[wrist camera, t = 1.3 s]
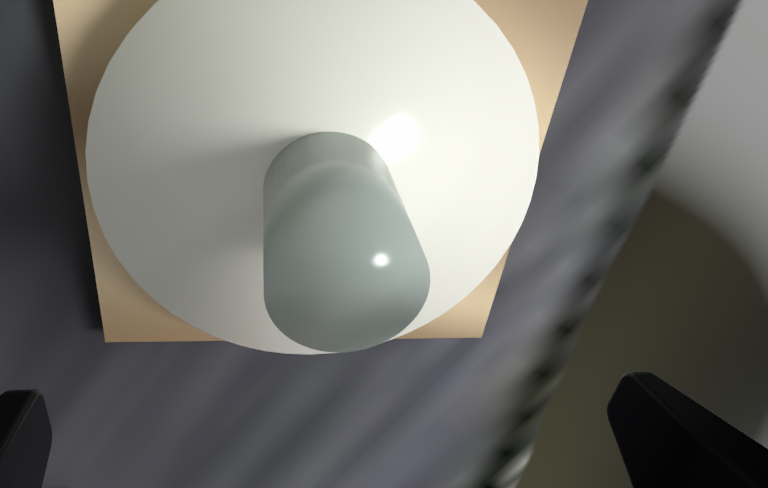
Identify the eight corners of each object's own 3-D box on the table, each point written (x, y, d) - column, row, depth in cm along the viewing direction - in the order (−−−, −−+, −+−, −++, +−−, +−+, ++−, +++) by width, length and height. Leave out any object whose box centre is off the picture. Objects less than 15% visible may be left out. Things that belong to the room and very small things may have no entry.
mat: (476, 325, 20) (481, 337, 20) (109, 328, 17) (105, 342, 17) (590, -50, 14) (603, -46, 13) (42, -138, 11) (31, -138, 11)
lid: (470, 326, 19) (530, 457, 15) (121, 329, 17) (74, 487, 12) (575, -26, 13) (722, 24, 9) (65, -104, 11) (-59, -83, 7)
